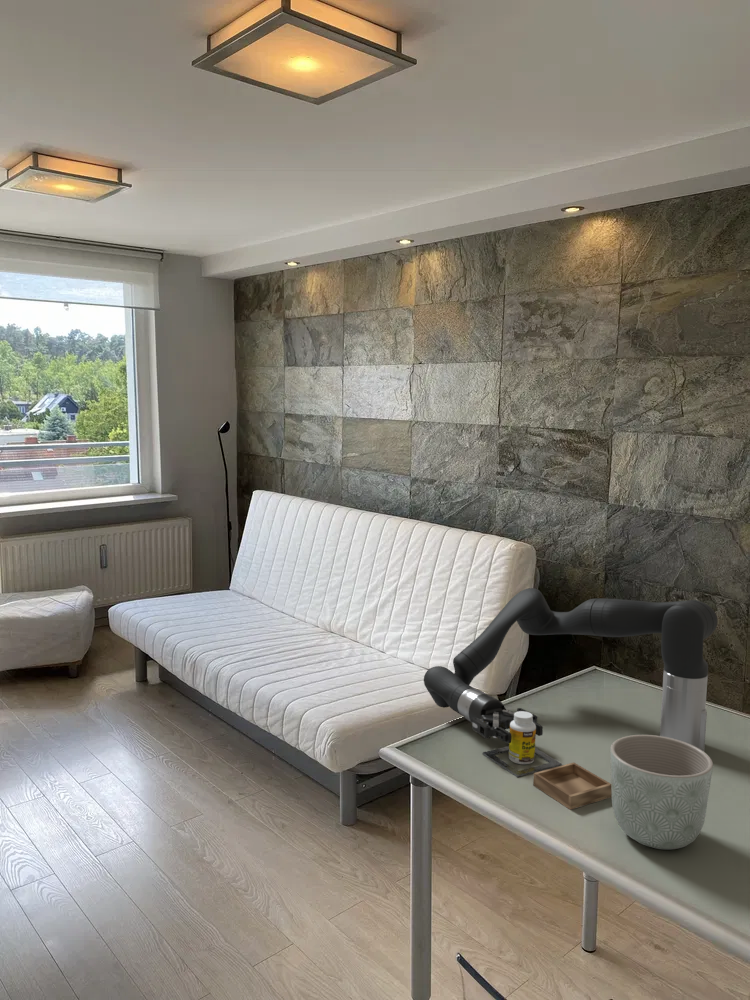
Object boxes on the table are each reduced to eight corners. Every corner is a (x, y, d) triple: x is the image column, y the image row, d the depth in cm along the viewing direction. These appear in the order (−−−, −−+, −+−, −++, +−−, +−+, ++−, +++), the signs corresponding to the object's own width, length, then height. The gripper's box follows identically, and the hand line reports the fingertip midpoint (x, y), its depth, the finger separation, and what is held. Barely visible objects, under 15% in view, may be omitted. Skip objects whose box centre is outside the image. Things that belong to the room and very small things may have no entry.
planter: (586, 829, 138) (590, 748, 137) (642, 802, 148) (647, 727, 147) (671, 875, 125) (676, 786, 123) (726, 842, 135) (732, 759, 133)
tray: (573, 774, 159) (573, 762, 159) (611, 797, 150) (612, 784, 150) (533, 785, 154) (533, 773, 154) (570, 809, 145) (570, 796, 145)
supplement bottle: (521, 767, 162) (523, 721, 161) (503, 757, 167) (504, 712, 165) (540, 761, 165) (542, 716, 164) (521, 752, 170) (523, 707, 168)
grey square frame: (525, 743, 174) (525, 742, 174) (561, 765, 163) (561, 763, 163) (482, 754, 168) (482, 752, 168) (517, 777, 158) (517, 775, 158)
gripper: (456, 698, 174) (500, 724, 160) (505, 688, 181) (552, 712, 167) (455, 730, 175) (498, 758, 161) (504, 719, 182) (550, 745, 168)
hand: (526, 735), depth 164 cm, fingers open, 8 cm apart
